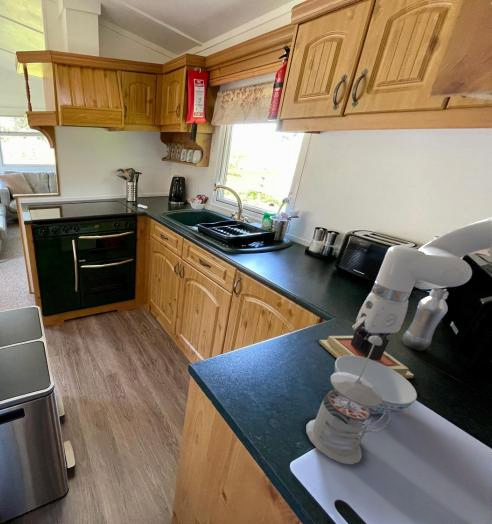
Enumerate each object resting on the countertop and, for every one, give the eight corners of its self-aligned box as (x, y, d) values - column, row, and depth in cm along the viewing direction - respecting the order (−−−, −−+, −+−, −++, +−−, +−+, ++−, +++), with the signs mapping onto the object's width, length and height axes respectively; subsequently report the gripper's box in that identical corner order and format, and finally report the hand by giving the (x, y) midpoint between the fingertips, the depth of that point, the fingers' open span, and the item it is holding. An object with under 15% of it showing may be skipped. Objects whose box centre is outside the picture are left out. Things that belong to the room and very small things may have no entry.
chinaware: (325, 371, 78) (334, 347, 75) (395, 395, 71) (407, 370, 69) (326, 409, 66) (337, 383, 63) (410, 443, 59) (426, 415, 56)
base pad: (363, 341, 93) (366, 334, 92) (412, 378, 78) (417, 369, 77) (318, 342, 91) (321, 335, 90) (360, 379, 76) (364, 371, 75)
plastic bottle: (395, 342, 93) (421, 287, 86) (407, 339, 96) (432, 284, 89) (419, 355, 88) (448, 297, 81) (431, 350, 91) (460, 294, 84)
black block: (359, 344, 90) (368, 322, 87) (392, 368, 79) (403, 344, 77) (336, 344, 89) (345, 322, 86) (366, 369, 78) (377, 345, 76)
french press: (301, 413, 64) (336, 316, 55) (360, 429, 61) (407, 330, 52) (312, 454, 55) (355, 346, 46) (382, 475, 52) (442, 364, 44)
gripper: (375, 298, 72) (350, 358, 79) (431, 299, 74) (403, 357, 81) (351, 285, 79) (330, 341, 86) (403, 286, 81) (379, 340, 88)
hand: (366, 348), depth 83 cm, fingers closed on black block, 3 cm apart
